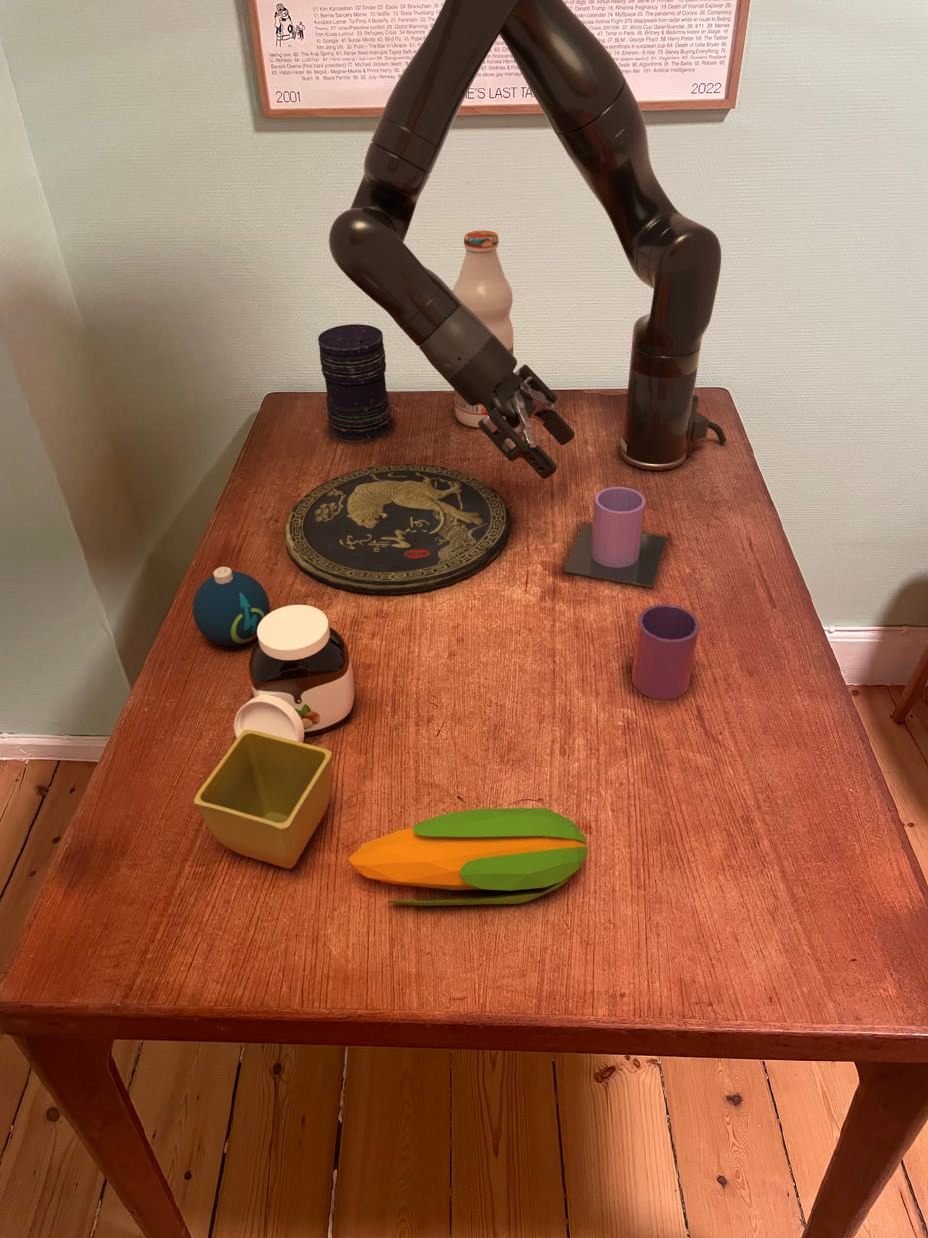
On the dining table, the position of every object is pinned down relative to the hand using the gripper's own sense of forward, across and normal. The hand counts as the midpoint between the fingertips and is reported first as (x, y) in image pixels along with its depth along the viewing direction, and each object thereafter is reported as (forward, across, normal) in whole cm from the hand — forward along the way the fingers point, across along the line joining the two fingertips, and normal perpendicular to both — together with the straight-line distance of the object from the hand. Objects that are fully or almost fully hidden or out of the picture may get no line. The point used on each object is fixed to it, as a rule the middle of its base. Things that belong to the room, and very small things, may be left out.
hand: (560, 456), depth 107 cm
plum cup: (+21, -21, -3) cm, 30 cm away
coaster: (+15, 0, +4) cm, 15 cm away
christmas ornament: (-12, -28, +31) cm, 44 cm away
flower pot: (+1, -52, +18) cm, 55 cm away
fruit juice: (-5, +33, +24) cm, 41 cm away
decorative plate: (-6, -2, +24) cm, 25 cm away
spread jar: (-3, -39, +21) cm, 44 cm away
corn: (+13, -51, +6) cm, 53 cm away
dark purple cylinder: (-18, +23, +36) cm, 47 cm away
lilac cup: (+14, 0, +4) cm, 15 cm away
